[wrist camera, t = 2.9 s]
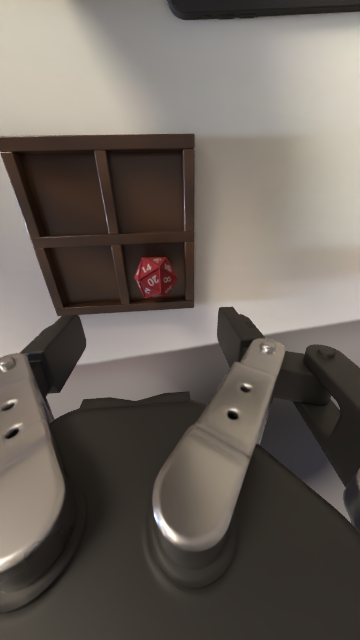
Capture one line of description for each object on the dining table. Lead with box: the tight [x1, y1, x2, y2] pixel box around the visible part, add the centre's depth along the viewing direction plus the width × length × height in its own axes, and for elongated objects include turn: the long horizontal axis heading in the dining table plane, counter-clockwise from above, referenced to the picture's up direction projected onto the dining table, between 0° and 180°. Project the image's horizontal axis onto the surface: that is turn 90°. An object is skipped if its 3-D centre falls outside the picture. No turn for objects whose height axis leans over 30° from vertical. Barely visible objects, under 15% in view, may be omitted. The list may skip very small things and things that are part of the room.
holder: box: [0, 134, 194, 316], centre depth 19 cm, size 15×15×1 cm
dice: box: [134, 257, 178, 298], centre depth 19 cm, size 4×4×4 cm
